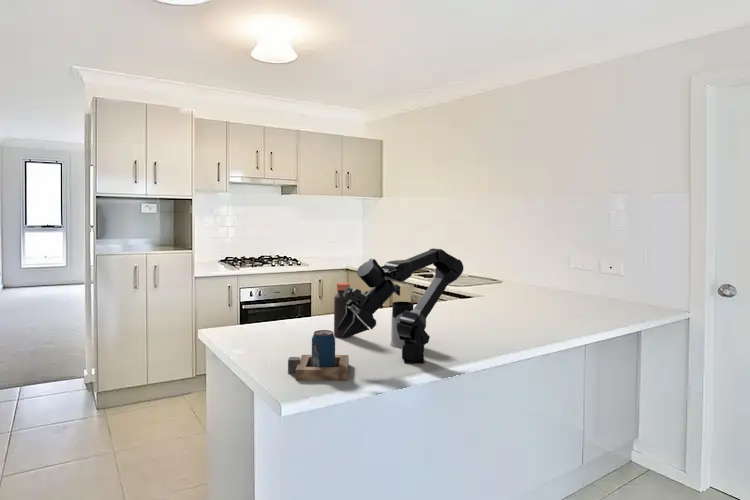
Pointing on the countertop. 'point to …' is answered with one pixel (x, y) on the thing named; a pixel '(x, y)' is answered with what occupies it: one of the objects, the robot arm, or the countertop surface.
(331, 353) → the soda can
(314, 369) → the wooden square frame
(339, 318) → the bottle
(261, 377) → the countertop surface
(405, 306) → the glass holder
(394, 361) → the countertop surface
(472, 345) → the countertop surface
